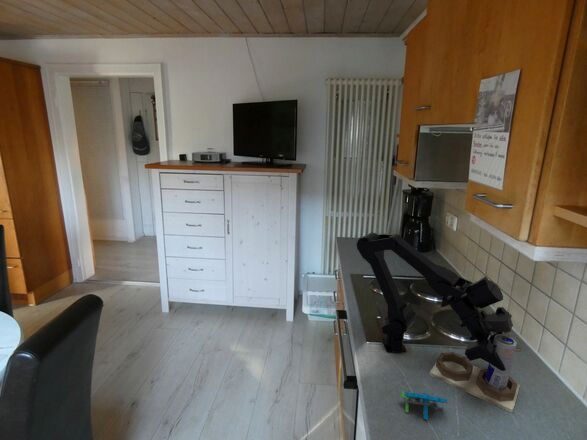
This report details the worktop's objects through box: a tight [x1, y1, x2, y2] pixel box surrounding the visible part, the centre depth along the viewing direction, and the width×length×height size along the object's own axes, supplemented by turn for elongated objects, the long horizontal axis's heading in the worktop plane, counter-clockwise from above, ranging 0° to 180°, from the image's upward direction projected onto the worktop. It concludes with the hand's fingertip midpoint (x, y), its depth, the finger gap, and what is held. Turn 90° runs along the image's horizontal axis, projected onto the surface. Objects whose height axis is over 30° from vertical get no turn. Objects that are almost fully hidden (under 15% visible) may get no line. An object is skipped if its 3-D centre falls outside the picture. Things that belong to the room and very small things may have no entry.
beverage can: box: [485, 333, 518, 391], centre depth 93 cm, size 5×5×15 cm
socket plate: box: [429, 351, 521, 414], centre depth 98 cm, size 21×11×4 cm, turn 50°
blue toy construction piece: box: [400, 390, 448, 420], centre depth 88 cm, size 11×6×10 cm
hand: (506, 364), depth 92 cm, fingers closed on beverage can, 5 cm apart
